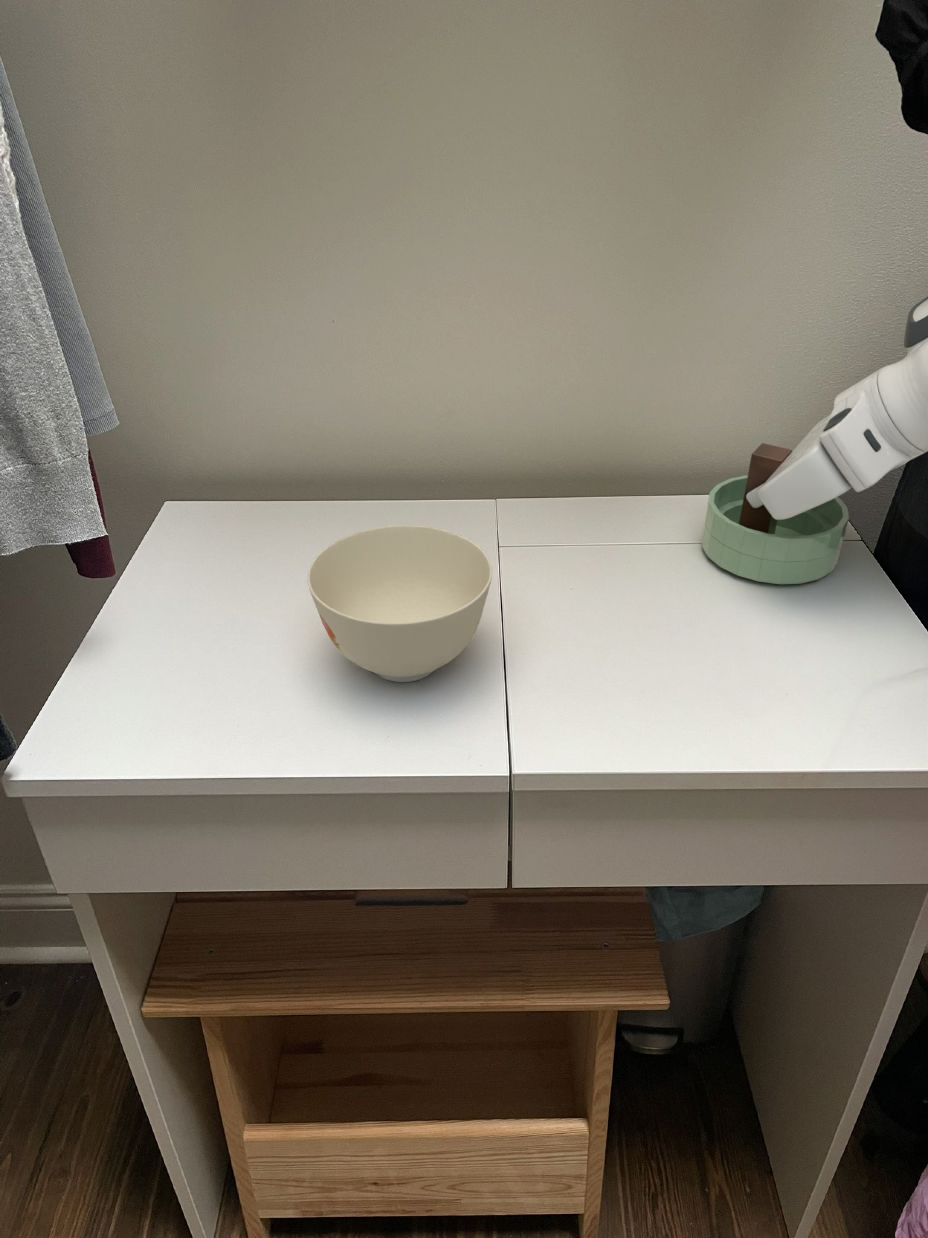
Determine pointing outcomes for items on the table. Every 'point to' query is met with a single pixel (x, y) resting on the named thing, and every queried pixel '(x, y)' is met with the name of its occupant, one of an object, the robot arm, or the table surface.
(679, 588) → the table surface
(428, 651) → the bowl
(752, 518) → the block
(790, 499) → the robot arm
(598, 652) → the table surface
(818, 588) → the table surface
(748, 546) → the dish
